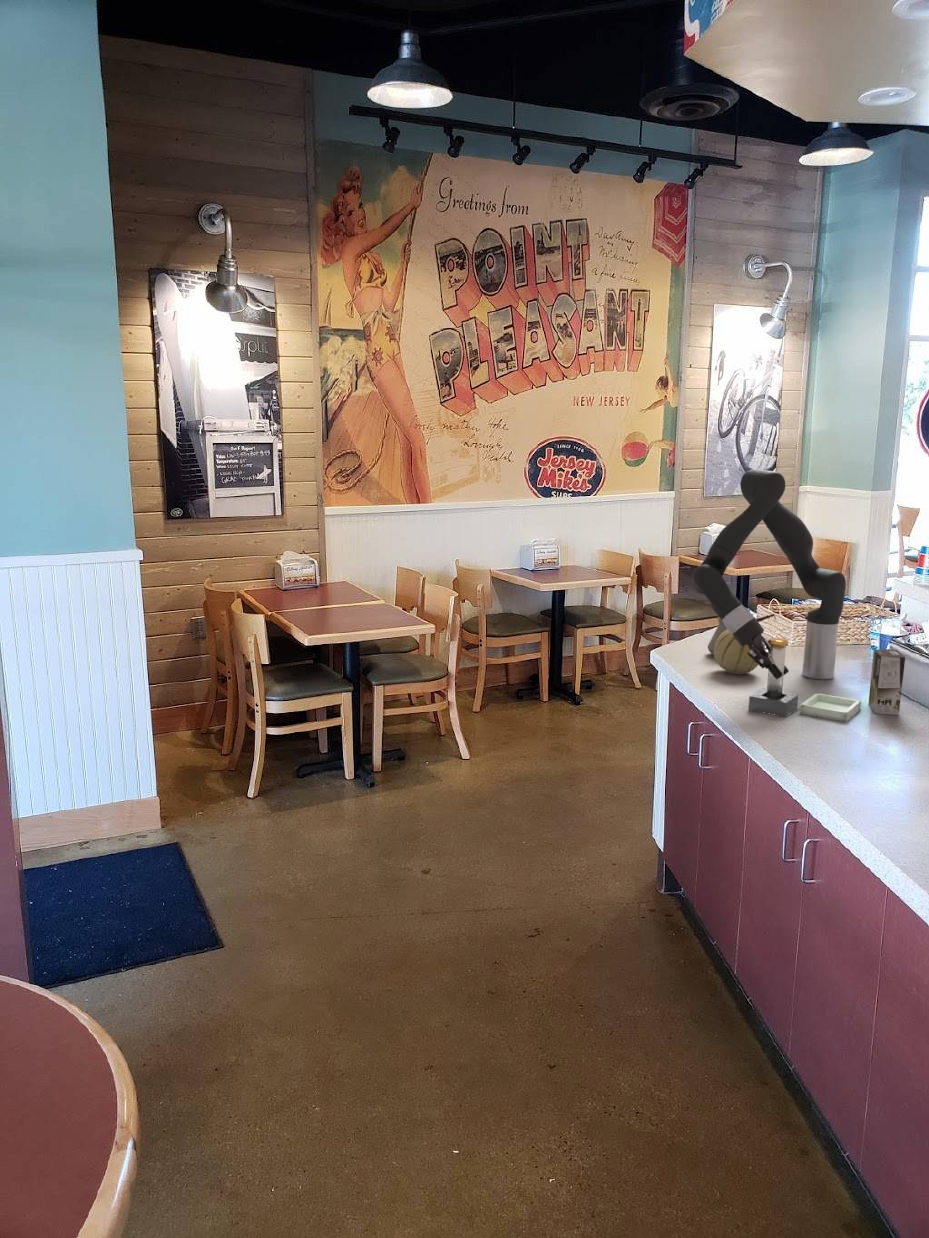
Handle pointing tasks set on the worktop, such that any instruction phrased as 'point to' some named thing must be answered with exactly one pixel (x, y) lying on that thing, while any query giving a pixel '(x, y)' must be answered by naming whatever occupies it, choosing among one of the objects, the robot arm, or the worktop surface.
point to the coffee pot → (722, 628)
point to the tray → (830, 707)
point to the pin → (779, 660)
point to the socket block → (773, 703)
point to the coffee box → (886, 681)
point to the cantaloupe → (733, 655)
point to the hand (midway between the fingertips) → (782, 675)
